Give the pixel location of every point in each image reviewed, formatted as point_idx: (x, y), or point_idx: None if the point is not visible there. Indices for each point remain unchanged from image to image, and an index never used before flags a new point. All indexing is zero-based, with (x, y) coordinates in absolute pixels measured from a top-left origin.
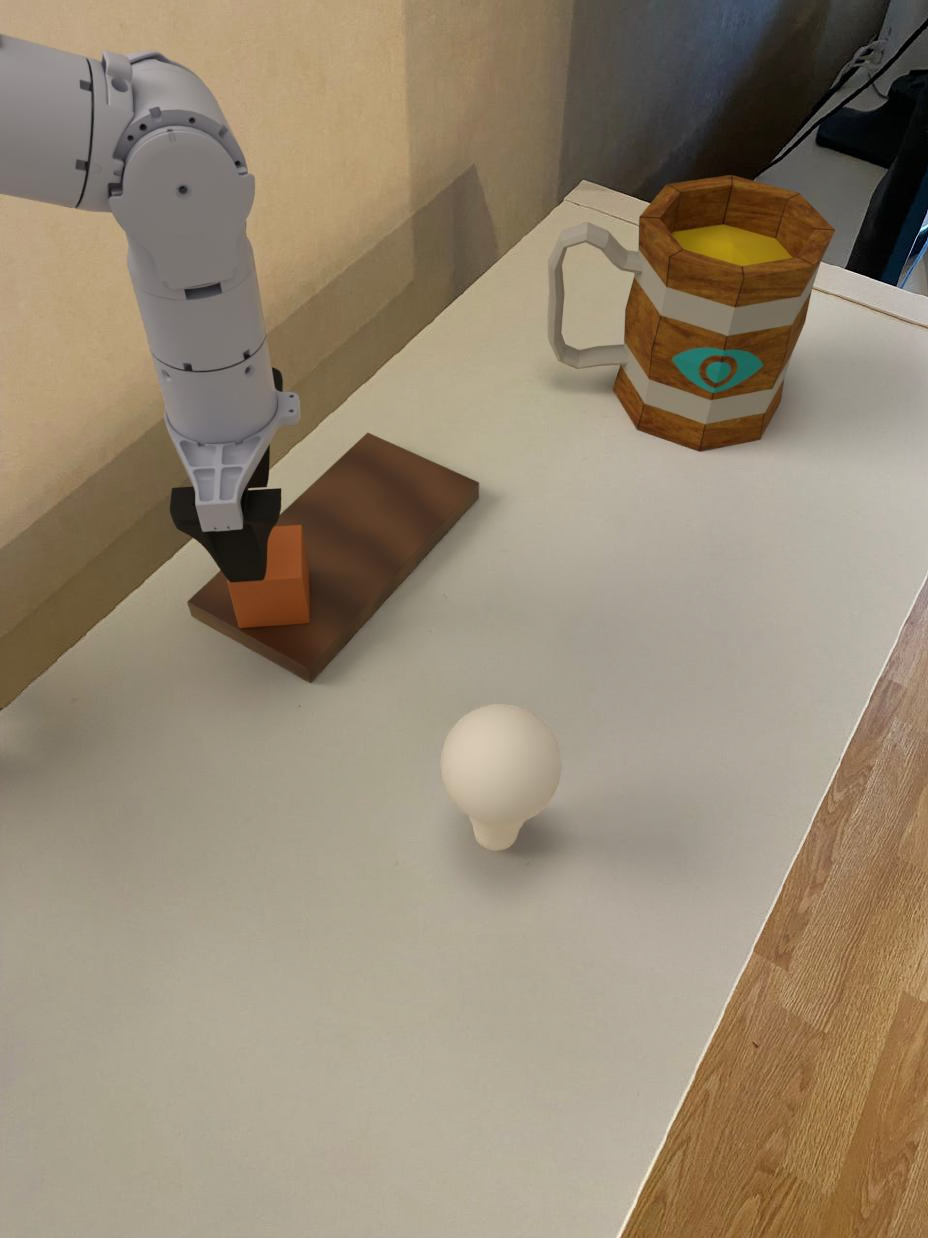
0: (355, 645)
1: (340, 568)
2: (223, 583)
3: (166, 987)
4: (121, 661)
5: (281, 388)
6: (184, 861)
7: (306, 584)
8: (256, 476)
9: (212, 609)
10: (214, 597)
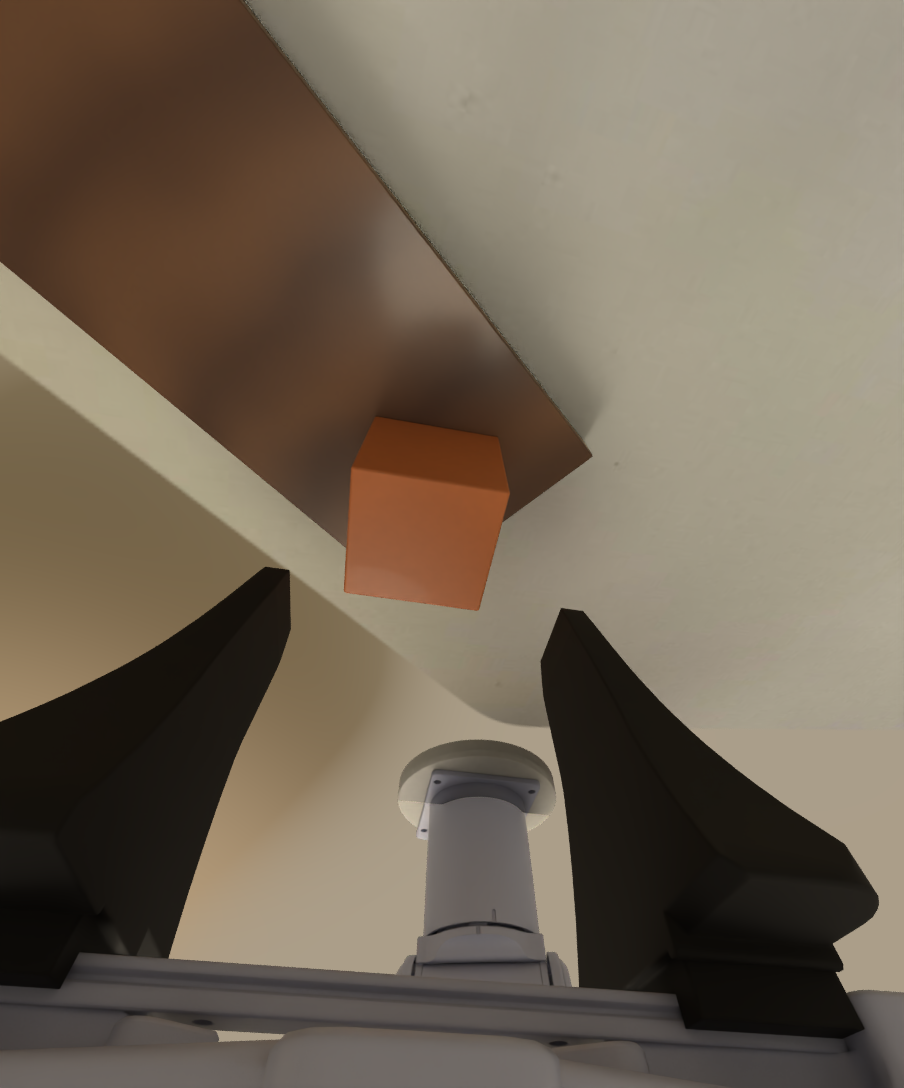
0: (535, 352)
1: (377, 354)
2: None
3: (878, 636)
4: (458, 646)
5: (22, 832)
6: (758, 612)
7: (454, 449)
8: (277, 609)
9: None
10: None
